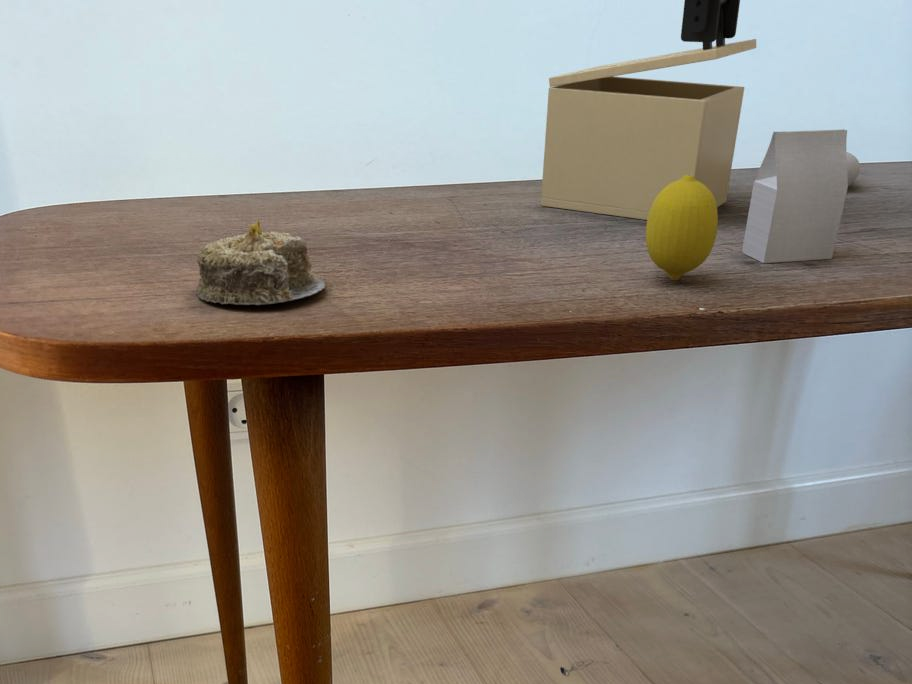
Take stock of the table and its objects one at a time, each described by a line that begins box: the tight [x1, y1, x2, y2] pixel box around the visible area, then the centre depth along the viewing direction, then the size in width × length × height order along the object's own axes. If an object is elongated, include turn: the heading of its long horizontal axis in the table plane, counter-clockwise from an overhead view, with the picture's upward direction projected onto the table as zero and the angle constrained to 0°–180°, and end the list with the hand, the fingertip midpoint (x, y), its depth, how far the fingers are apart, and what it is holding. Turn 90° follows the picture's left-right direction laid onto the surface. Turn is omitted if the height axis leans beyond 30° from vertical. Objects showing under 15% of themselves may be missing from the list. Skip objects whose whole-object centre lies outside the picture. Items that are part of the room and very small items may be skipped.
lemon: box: [645, 175, 719, 281], centre depth 84 cm, size 6×6×8 cm
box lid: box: [548, 0, 757, 88], centre depth 101 cm, size 16×13×6 cm
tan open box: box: [540, 76, 745, 221], centre depth 106 cm, size 16×13×11 cm
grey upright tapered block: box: [741, 128, 849, 264], centre depth 90 cm, size 4×7×10 cm, turn 106°
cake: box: [195, 220, 326, 306], centre depth 80 cm, size 10×10×5 cm
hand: (708, 37), depth 98 cm, fingers closed on box lid, 5 cm apart
